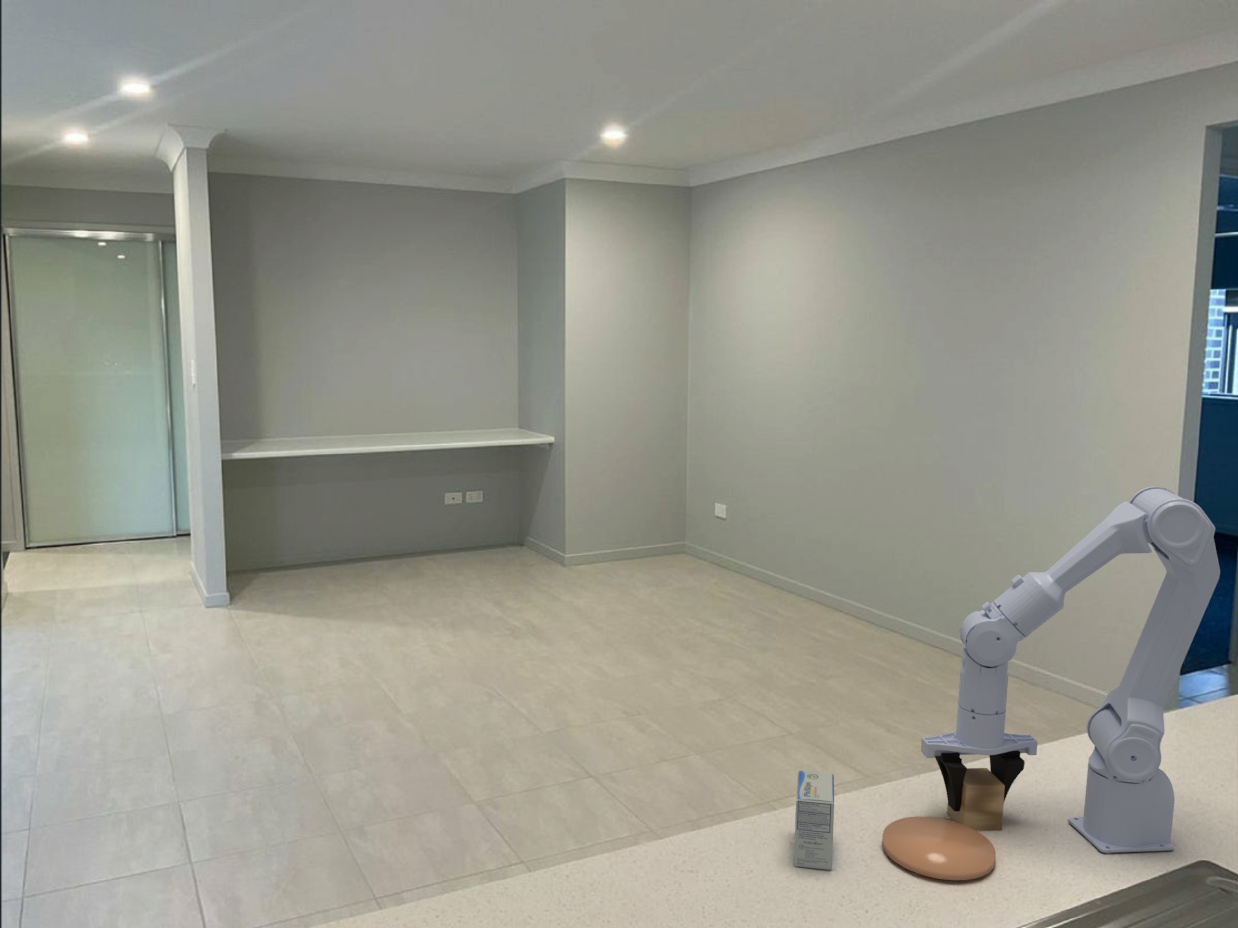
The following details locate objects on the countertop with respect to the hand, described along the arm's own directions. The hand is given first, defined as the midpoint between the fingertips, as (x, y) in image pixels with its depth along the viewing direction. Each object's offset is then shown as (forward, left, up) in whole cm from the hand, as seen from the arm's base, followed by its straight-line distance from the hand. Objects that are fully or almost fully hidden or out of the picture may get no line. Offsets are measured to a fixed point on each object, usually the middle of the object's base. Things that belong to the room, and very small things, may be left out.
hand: (974, 806), depth 128 cm
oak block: (0, 0, -2) cm, 2 cm away
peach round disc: (+8, +7, -2) cm, 11 cm away
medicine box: (+23, +6, -2) cm, 24 cm away
